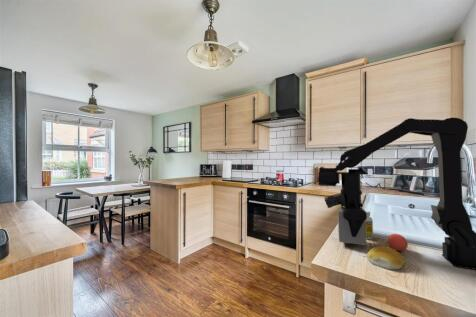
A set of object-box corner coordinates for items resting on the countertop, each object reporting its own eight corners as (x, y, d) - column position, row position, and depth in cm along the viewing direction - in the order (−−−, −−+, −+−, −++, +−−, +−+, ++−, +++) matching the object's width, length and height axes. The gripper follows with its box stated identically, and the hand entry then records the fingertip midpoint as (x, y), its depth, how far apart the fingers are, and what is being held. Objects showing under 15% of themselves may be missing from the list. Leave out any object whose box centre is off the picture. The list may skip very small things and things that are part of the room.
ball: (401, 230, 64) (383, 232, 66) (407, 236, 59) (387, 237, 61) (406, 246, 63) (388, 247, 65) (412, 253, 59) (392, 254, 61)
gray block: (338, 233, 73) (337, 209, 73) (362, 236, 69) (362, 211, 70) (339, 241, 66) (338, 215, 66) (366, 245, 62) (365, 217, 63)
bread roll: (406, 262, 56) (406, 248, 56) (399, 274, 50) (399, 259, 50) (372, 252, 62) (372, 239, 62) (362, 262, 56) (362, 248, 56)
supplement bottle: (360, 233, 77) (359, 208, 77) (375, 237, 73) (375, 211, 73) (353, 236, 74) (352, 210, 74) (369, 240, 70) (368, 213, 70)
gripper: (326, 183, 79) (327, 221, 79) (324, 190, 63) (326, 239, 62) (358, 184, 75) (359, 225, 75) (366, 191, 58) (367, 244, 58)
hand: (352, 232), depth 67 cm, fingers closed on gray block, 8 cm apart
